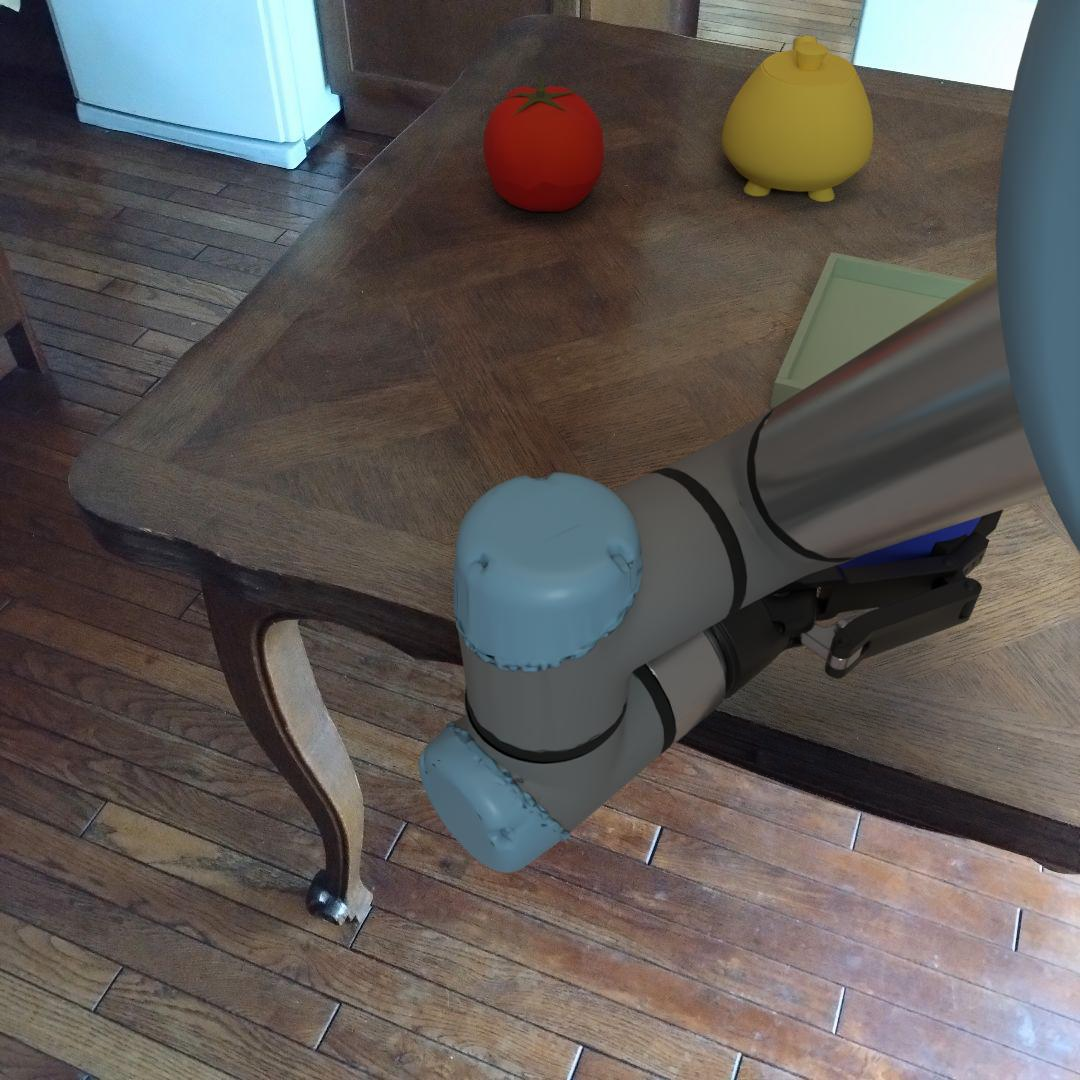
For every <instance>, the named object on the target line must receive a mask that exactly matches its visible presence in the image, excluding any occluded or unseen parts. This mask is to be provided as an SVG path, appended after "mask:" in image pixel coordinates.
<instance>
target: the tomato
mask: <svg viewBox="0 0 1080 1080" xmlns="http://www.w3.org/2000/svg"><path fill="white" fill-rule="evenodd" d="M585 89H586V88H580V89H576V90H571V89H570V88H567V87H564V86H557V85H556V86H555V85H550V86H546V87H545V81H544V75H543V74H541V75H540V77H539V82H538V87H537V88H534V87H528V86H525V85H521V86H519V87H517V88H515V89H512V90H510V91H508V92H507V94H506V95H505V97H504V98H503V97H502V98H501V97H500V100H501V99H502V100H503V101H501V102H500V103H498V104H497V106H496V107H495V108H494V109H492V110H491V111H490V114H489V116H488V120H487V123H486V124H485V128H484V131H483V148H482V150H483V157H484V162H485V166H486V170H487V173H488V176H489V179H490V181H491V184H492V187H493V189H494V190H495V191H496V193H497V195H498V196H500V197H501V198H502V199H504V200H505V201H506V202H507V203H509V204H510V205H511V206H512V207H515V208H517V209H518V208H519V209H522V210H525V211H529V212H543V213H544V212H546V213H548V212H550V213H551V212H554V213H562V212H564V211H568V210H570V209H573V208H575V207H576V206H577V205H578V204H580V203H581V202H582V201H583V200H584V199H585V198H586V197H587V196H588V195H589V194H590V193H591V192H592V191H593V189H594V187H595V186H596V184H597V183H598V181H599V179H600V177H601V175H602V172H603V164H604V157H605V155H604V153H605V145H604V137H603V135H604V134H603V129H602V125H601V122H600V119H599V118H598V116H597V114H596V113H595V111H594V110H593V109H592V108H591V106H590V105H589V104H588V103H587V102H586V100H585V99H584V98H583V97H582V96H580V95H579V94H577V92H580V91H582V90H585Z"/></svg>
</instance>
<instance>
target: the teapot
mask: <svg viewBox="0 0 1080 1080" xmlns="http://www.w3.org/2000/svg"><path fill="white" fill-rule="evenodd" d="M828 51H829V49H828V47H827V46H826V45H824V44H822V43H819V42H818V39H817V38H816V37H814V36H810V35H803V36H797V37H795V38H794V39H793V42H792V49H790V50H783V51H779V52H776V53H773V54H771V55H769V56H768V57H766V58H765V59H764V60H763V61H762V62H761V63H760V64H759V65H758V66H757V67H756V68H755V69H754V71H753V72H752V74H751V75H750V76H749V77H748V78H747V80H746V81H745V82H744V84H742V86H741V88H740V89H739V91H738V92H737V94H736V95H735V97H734V99H733V101H732V103H731V104H730V106H729V110H728V111H727V114H726V117H725V120H724V124H723V127H722V130H721V136H720V137H721V140H720V141H721V142H720V143H721V147H722V150H723V153H724V154H725V156H726V158H727V159H728V161H729V163H730V164H731V165H732V166H733V167H734V168H735V170H736V171H737V172H738V173H739V174H740V175H741V176H743V178H745V179H746V180H748V181H747V182H746V184H745V186H744V187H743V191H744V193H745V194H746V195H750V196H752V197H765V196H768V195H769V194H770V193H771V190H772V189H774V190H775V189H776V190H781V191H790V192H807V196H808V197H809V198H810V199H811V200H813V201H816V202H819V203H820V202H821V203H823V202H824V203H827V202H830V201H834V199H835V193H834V190H833V188H835V187H836V186H839V185H841V184H843V183H844V182H846V181H847V180H848V179H850V178H851V177H853V176H854V175H855V174H856V173H857V172H859V171H860V170H861V169H862V168H863V167H864V166H865V165H866V164H867V162H868V161H869V159H870V157H871V155H872V149H873V144H874V120H873V114H872V109H871V104H870V102H869V98H868V95H867V93H866V90H865V88H864V85H863V83H862V80H861V78H860V76H859V73H858V72H857V70H856V68H855V66H854V65H853V64H852V63H851V62H850V61H849V60H848V59H846V58H844V57H842V56H840V55H837V54H834V53H831V52H828Z"/></svg>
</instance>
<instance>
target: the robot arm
mask: <svg viewBox="0 0 1080 1080" xmlns="http://www.w3.org/2000/svg"><path fill="white" fill-rule="evenodd" d="M1009 104H1010V105H1009V109H1008V113H1007V119H1006V126H1005V133H1004V141H1003V147H1002V153H1001V159H1000V160H1001V161H1000V172H999V183H998V192H997V204H996V205H997V207H996V225H995V226H996V228H995V257H996V258H995V259H996V261H995V263H996V265H995V266H996V269H994V270H992V271H991V272H989V273H987V274H986V275H984V276H982V277H981V278H980V279H978V280H976V282H975V283H973V284H971V285H970V286H968V287H967V288H965V289H963V290H962V291H960V292H959V293H957V294H955V295H954V296H952V297H951V298H949V299H947V300H946V301H944V302H943V303H941V304H939V305H938V306H936V307H935V308H933V309H931V310H930V311H928V312H927V313H925V314H923V315H922V316H920V317H919V318H917V319H915V320H914V321H912V322H911V323H909V324H907V325H906V326H904V327H903V328H901V329H899V330H898V331H896V332H895V333H893V334H891V335H890V336H888V337H887V338H885V339H883V340H882V341H880V342H879V343H877V344H875V345H874V346H872V347H871V348H869V349H867V350H866V351H864V352H863V353H861V354H859V355H858V356H856V357H855V358H853V359H851V360H850V361H848V362H847V363H845V364H843V365H842V366H840V367H839V368H837V369H835V370H834V371H832V372H831V373H829V374H827V375H826V376H824V377H822V378H821V379H819V380H818V381H816V382H814V383H813V384H811V385H810V386H808V387H806V388H805V389H803V390H802V391H800V392H798V393H797V394H795V395H794V396H792V397H790V398H789V399H787V400H786V401H784V402H782V403H781V404H779V405H778V406H775V407H773V408H770V409H768V410H766V411H765V412H763V413H762V414H760V415H759V416H756V417H755V418H754V419H752V420H751V421H749V422H748V423H746V424H744V425H743V426H741V427H739V428H737V429H736V430H734V431H732V432H730V433H728V434H726V435H724V436H723V437H721V438H719V439H716V440H715V441H713V442H711V443H709V444H706V445H704V446H703V447H701V448H699V449H697V450H694V451H693V452H690V454H687V455H685V456H684V457H681V458H679V459H677V460H676V461H673V462H672V463H670V464H667V465H665V466H664V467H662V468H658V469H655V470H653V471H651V472H649V473H646V474H643V475H640V476H639V477H636V478H634V479H633V480H630V481H628V482H626V483H624V484H622V485H619V486H617V487H615V488H613V489H611V488H609V487H607V486H606V485H604V484H602V483H600V482H599V481H597V480H594V479H592V478H589V477H585V476H583V475H579V474H574V473H571V472H570V473H569V472H561V471H560V472H551V473H550V474H549V475H548V476H546V477H534V478H532V477H531V476H530V475H528V474H523V475H519V476H515V477H512V478H509V479H507V480H505V481H503V482H500V483H499V484H497V485H495V486H493V487H491V488H490V489H489V490H487V491H486V492H484V493H483V494H482V495H481V496H480V497H479V498H478V499H476V501H475V502H473V504H472V505H471V507H470V508H469V509H468V511H467V512H466V513H465V515H464V517H463V519H462V521H461V523H460V525H459V527H458V531H457V535H456V540H455V549H454V561H453V597H452V599H453V600H452V601H453V602H452V608H453V615H454V618H455V619H454V620H455V627H456V629H457V633H458V640H459V646H460V652H461V658H462V666H463V672H464V681H465V690H464V701H463V703H464V712H465V714H464V715H463V716H461V717H460V718H458V719H455V720H451V721H450V722H448V723H447V724H446V725H445V728H444V729H442V731H441V732H440V733H439V734H437V735H436V736H435V737H434V738H433V739H432V740H430V742H429V743H428V744H427V745H426V746H425V747H424V748H423V751H422V753H421V754H420V756H419V759H418V773H419V774H418V775H419V778H420V782H421V785H422V787H423V790H424V792H425V794H426V796H427V798H428V800H429V803H430V804H431V806H432V808H433V810H434V811H435V813H436V815H437V817H438V818H439V819H440V820H441V821H442V824H443V825H444V826H445V828H446V829H447V830H448V832H449V833H450V834H451V835H452V836H453V838H454V839H455V840H456V841H457V842H458V843H459V844H460V845H461V847H463V849H464V850H465V851H467V852H468V853H469V855H470V856H471V857H473V858H474V859H475V860H476V861H477V862H479V863H480V864H482V865H483V866H484V867H486V868H488V869H491V870H492V871H495V872H499V873H504V874H508V873H510V874H511V873H514V872H518V871H521V870H522V869H524V868H525V867H526V866H528V865H529V864H531V863H532V862H534V861H535V860H536V859H538V858H539V857H541V856H542V855H543V854H545V853H546V852H548V851H549V850H550V849H552V848H553V847H555V846H556V845H558V843H560V842H561V841H566V840H568V839H569V838H570V837H571V836H572V832H573V831H574V830H575V829H576V828H578V827H579V826H580V825H581V824H582V823H583V822H585V821H586V820H587V819H588V818H589V817H590V816H592V815H593V814H594V813H595V812H596V811H598V810H599V809H600V808H601V807H602V806H603V805H605V804H606V803H607V802H608V801H609V800H610V799H612V798H613V797H614V796H615V795H616V794H617V793H618V792H620V790H622V789H623V788H624V787H625V786H626V785H628V784H629V783H630V782H631V781H632V780H634V779H635V778H636V777H637V776H638V775H639V774H641V773H642V772H643V771H644V770H645V769H646V768H648V767H649V766H650V765H651V764H652V763H653V762H654V761H656V760H657V759H658V758H659V757H660V756H661V755H663V753H665V752H666V751H667V750H668V749H670V748H672V747H673V746H674V745H675V744H676V743H677V742H679V741H680V740H681V739H682V738H684V736H686V735H687V734H688V733H689V732H690V731H692V730H693V729H694V728H695V727H696V726H698V725H699V724H700V723H701V722H702V721H703V720H705V718H707V717H708V716H709V715H711V714H712V713H713V712H714V711H715V710H717V709H718V707H719V706H720V705H721V704H722V703H723V702H724V700H726V699H729V698H731V697H732V696H734V695H735V694H736V693H737V692H738V691H740V690H741V689H742V688H743V687H745V685H747V684H748V683H749V682H751V680H753V679H754V678H755V677H756V676H757V675H759V674H760V673H761V672H762V671H763V670H765V669H766V668H767V667H768V666H769V665H771V663H772V662H773V661H774V660H775V659H776V658H777V657H778V656H779V655H781V654H782V653H783V652H785V651H788V650H790V649H795V648H799V647H803V646H804V647H806V648H807V649H809V650H810V651H811V652H813V653H814V654H816V655H817V656H818V657H819V658H822V659H823V660H824V661H825V663H824V673H825V674H826V675H827V676H828V677H830V678H832V679H837V680H838V679H842V678H844V677H846V676H847V675H848V674H849V673H850V672H852V670H854V669H855V668H856V667H857V666H858V665H860V663H861V662H863V660H866V659H868V658H871V657H874V656H876V655H879V654H882V653H885V652H888V651H890V650H893V649H896V648H898V647H901V646H904V645H907V644H910V643H912V642H916V641H918V640H920V639H922V638H926V637H928V636H931V635H934V634H936V633H940V632H942V631H946V630H947V629H950V628H953V627H956V626H958V625H962V624H964V623H967V622H968V621H969V620H970V619H971V616H972V614H973V612H974V610H975V607H976V604H977V602H978V599H979V597H980V594H981V592H982V590H983V586H982V583H981V582H979V581H978V580H977V579H975V578H972V577H967V576H968V575H969V574H970V573H971V572H972V571H973V570H975V568H977V567H978V566H979V565H981V563H982V561H983V558H984V556H985V555H986V554H985V553H986V551H987V548H988V546H989V543H990V539H988V538H987V537H988V536H989V535H991V534H992V533H993V532H994V531H995V530H996V529H997V526H998V525H999V522H1000V519H1001V517H1002V514H1003V512H1004V510H1005V509H1008V508H1011V507H1015V506H1018V505H1020V504H1024V503H1027V502H1030V501H1033V500H1036V499H1039V498H1042V497H1045V496H1049V499H1050V500H1051V503H1052V505H1053V508H1054V509H1055V511H1056V513H1057V515H1058V517H1059V519H1060V521H1061V523H1062V524H1063V526H1064V528H1065V530H1066V532H1067V534H1068V536H1069V538H1070V539H1071V541H1072V543H1073V545H1074V546H1075V548H1076V549H1077V551H1078V553H1080V0H1037V2H1036V5H1035V8H1034V11H1033V14H1032V17H1031V21H1030V23H1029V27H1028V30H1027V34H1026V39H1025V42H1024V45H1023V49H1022V53H1021V56H1020V60H1019V62H1018V66H1017V71H1016V76H1015V81H1014V84H1013V89H1012V95H1011V99H1010V103H1009ZM981 516H982V517H981ZM978 517H981V519H980V521H979V522H978V524H977V525H976V527H975V529H974V530H973V531H972V533H971V534H970V535H969V536H967V533H966V534H965V535H963V536H960V537H958V538H955V539H951V540H947V541H940V542H937V543H936V544H935V547H934V550H933V553H932V556H931V557H926V558H918V559H910V560H902V561H894V562H886V563H878V564H870V565H862V566H854V567H846V568H840V567H839V566H838V565H839V564H842V563H844V562H847V561H849V560H852V559H855V558H857V557H860V556H862V555H864V554H866V553H869V552H872V551H876V550H879V549H882V548H885V547H888V546H891V545H894V544H897V543H900V542H903V541H906V540H910V539H913V538H916V537H919V536H922V535H925V534H928V533H931V532H934V531H937V530H940V529H944V528H947V527H950V526H953V525H956V524H959V523H962V522H965V521H968V520H971V519H975V518H978ZM819 588H820V589H819ZM818 589H819V593H818ZM878 607H881V608H878ZM870 609H872V610H871V611H868V612H865V613H862V614H860V615H859V616H857V617H855V618H853V619H852V620H851V621H849V622H848V621H847V620H845V619H842V618H841V619H838V620H837V621H836V623H833V624H832V625H830V626H822V625H819V624H817V623H816V622H818V621H819V622H820V621H827V620H831V619H833V618H836V616H837V615H838V614H841V613H847V612H853V611H861V610H870Z"/></svg>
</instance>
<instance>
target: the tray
mask: <svg viewBox="0 0 1080 1080" xmlns="http://www.w3.org/2000/svg"><path fill="white" fill-rule="evenodd" d="M976 281H977V280H975V279H969V278H966V277H965V278H964V277H960V276H956V275H955V276H954V275H949V274H946V273H945V274H944V273H940V272H934V271H929V270H925V269H921V268H920V269H919V268H915V267H909V266H905V265H899V264H894V263H889V262H884V261H880V260H879V261H878V260H874V259H870V258H869V259H868V258H864V257H858V256H854V255H849V254H844V253H840V252H839V253H837V252H833V251H830V252H829V255H828V257H827V259H826V262H825V264H824V266H823V269H822V271H821V273H820V276H819V278H818V280H817V283H816V285H815V287H814V288H813V289H814V290H813V292H812V294H811V297H810V298H809V301H808V303H807V306H806V308H805V310H804V312H803V315H802V318H801V320H800V322H799V324H798V326H797V329H796V331H795V333H794V337H793V338H792V341H791V342H790V345H789V347H788V350H787V352H786V354H785V357H784V360H783V361H782V363H781V366H780V368H779V369H778V370H779V371H778V372H777V375H776V377H775V380H774V382H773V387H772V392H771V398H770V404H769V408H770V409H771V408H773V407H775V406H778V405H779V404H781V403H782V402H784V401H786V400H787V399H789V398H790V397H792V396H794V395H795V394H797V393H798V392H800V391H802V390H803V389H805V388H806V387H808V386H810V385H811V384H813V383H814V382H816V381H818V380H819V379H821V378H822V377H824V376H826V375H827V374H829V373H831V372H832V371H834V370H835V369H837V368H839V367H840V366H842V365H843V364H845V363H847V362H848V361H850V360H851V359H853V358H855V357H856V356H858V355H859V354H861V353H863V352H864V351H866V350H867V349H869V348H871V347H872V346H874V345H875V344H877V343H879V342H880V341H882V340H883V339H885V338H887V337H888V336H890V335H891V334H893V333H895V332H896V331H898V330H899V329H901V328H903V327H904V326H906V325H907V324H909V323H911V322H912V321H914V320H915V319H917V318H919V317H920V316H922V315H923V314H925V313H927V312H928V311H930V310H931V309H933V308H935V307H936V306H938V305H939V304H941V303H943V302H944V301H946V300H947V299H949V298H951V297H952V296H954V295H955V294H957V293H959V292H960V291H962V290H963V289H965V288H967V287H968V286H970V285H971V284H973V283H975V282H976Z"/></svg>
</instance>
